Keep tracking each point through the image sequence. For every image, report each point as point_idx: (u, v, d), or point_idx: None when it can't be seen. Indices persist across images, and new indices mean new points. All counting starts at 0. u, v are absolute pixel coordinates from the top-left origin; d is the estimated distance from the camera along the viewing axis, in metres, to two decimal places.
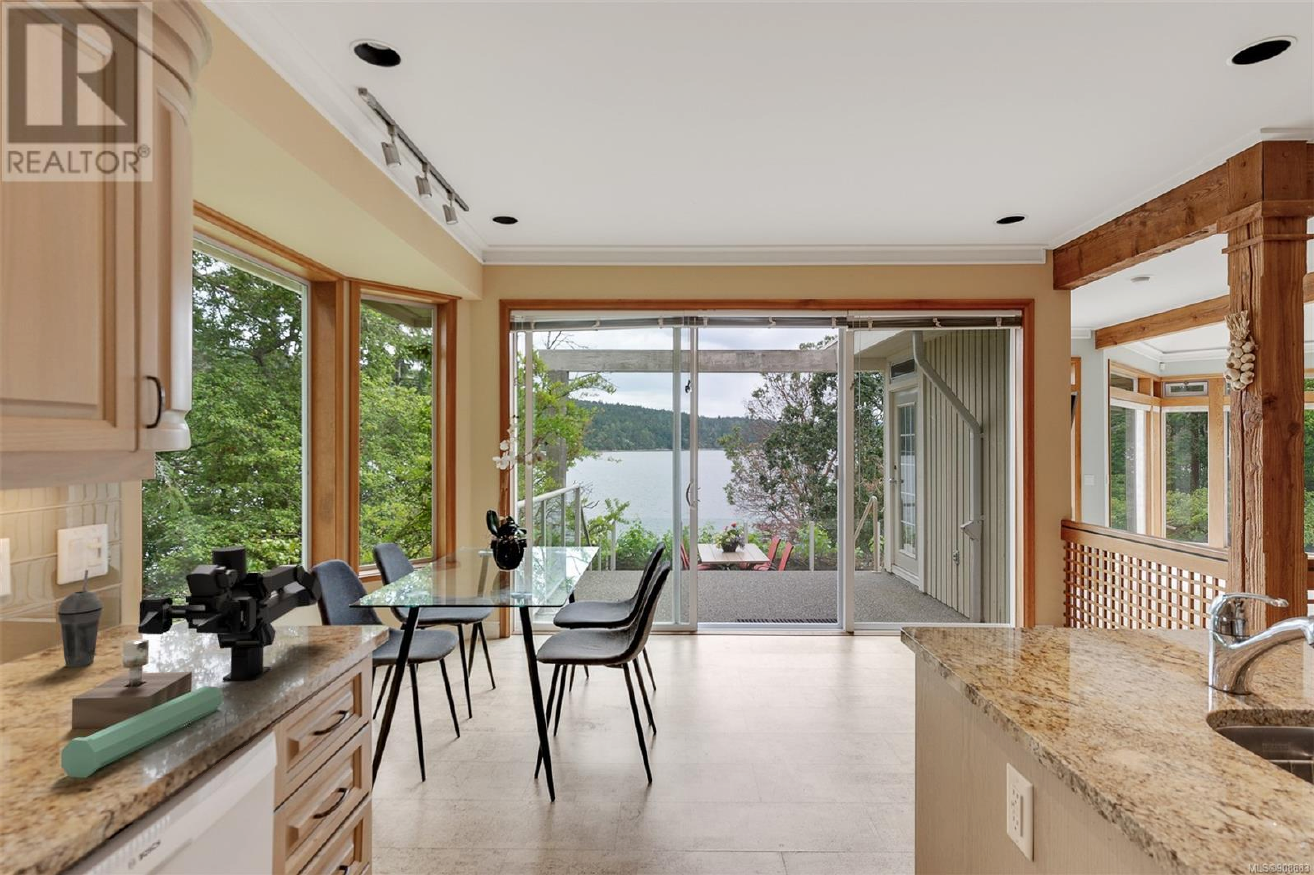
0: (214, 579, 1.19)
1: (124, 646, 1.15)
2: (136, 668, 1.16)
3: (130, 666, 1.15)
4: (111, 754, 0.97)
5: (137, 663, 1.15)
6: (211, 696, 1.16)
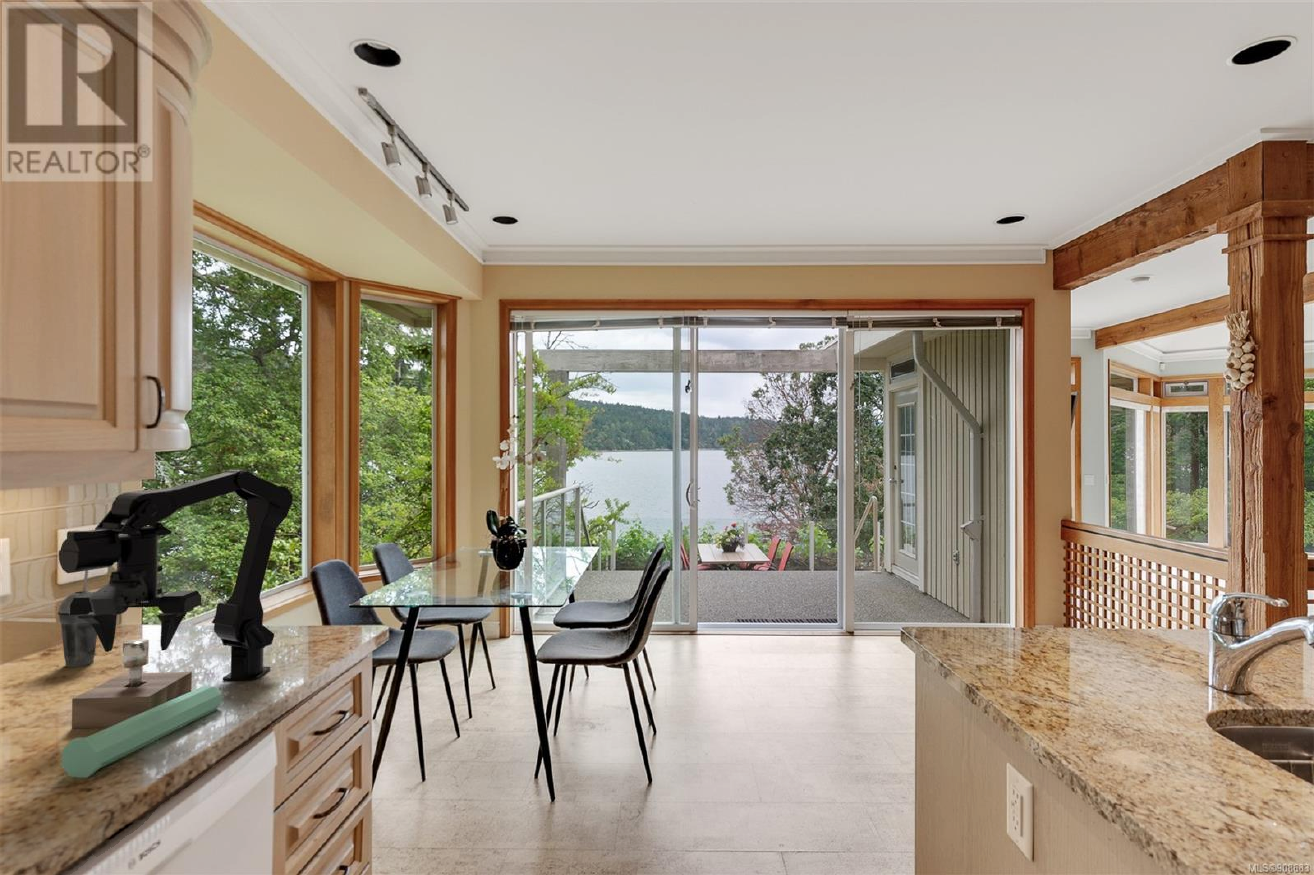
0: (126, 609, 1.10)
1: (124, 646, 1.15)
2: (136, 668, 1.16)
3: (130, 666, 1.15)
4: (112, 754, 0.97)
5: (137, 663, 1.15)
6: (210, 696, 1.16)
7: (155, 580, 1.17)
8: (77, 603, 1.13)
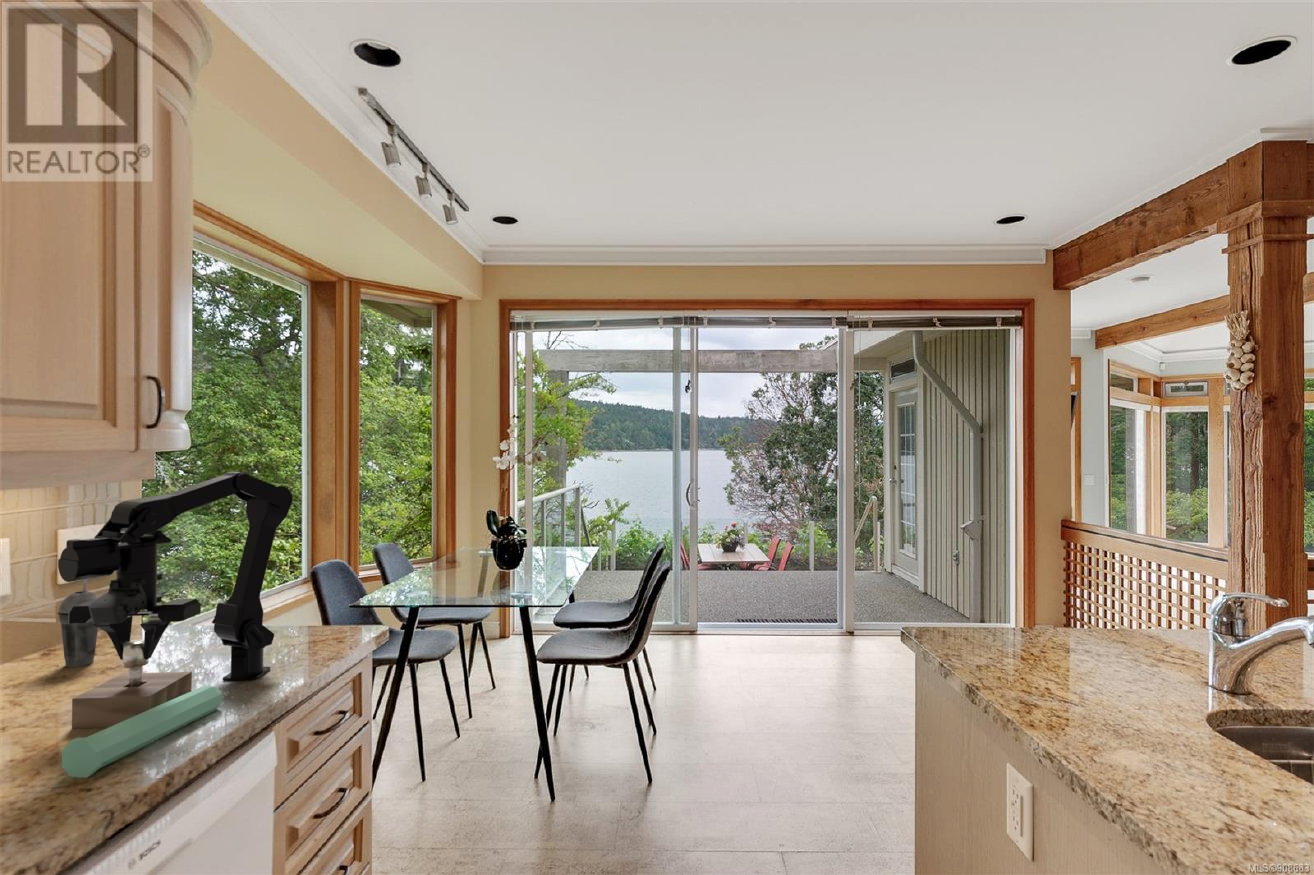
0: (125, 618, 1.10)
1: (124, 646, 1.15)
2: (136, 669, 1.16)
3: (130, 666, 1.15)
4: (112, 754, 0.97)
5: (137, 663, 1.15)
6: (210, 696, 1.16)
7: (154, 588, 1.17)
8: (76, 612, 1.13)
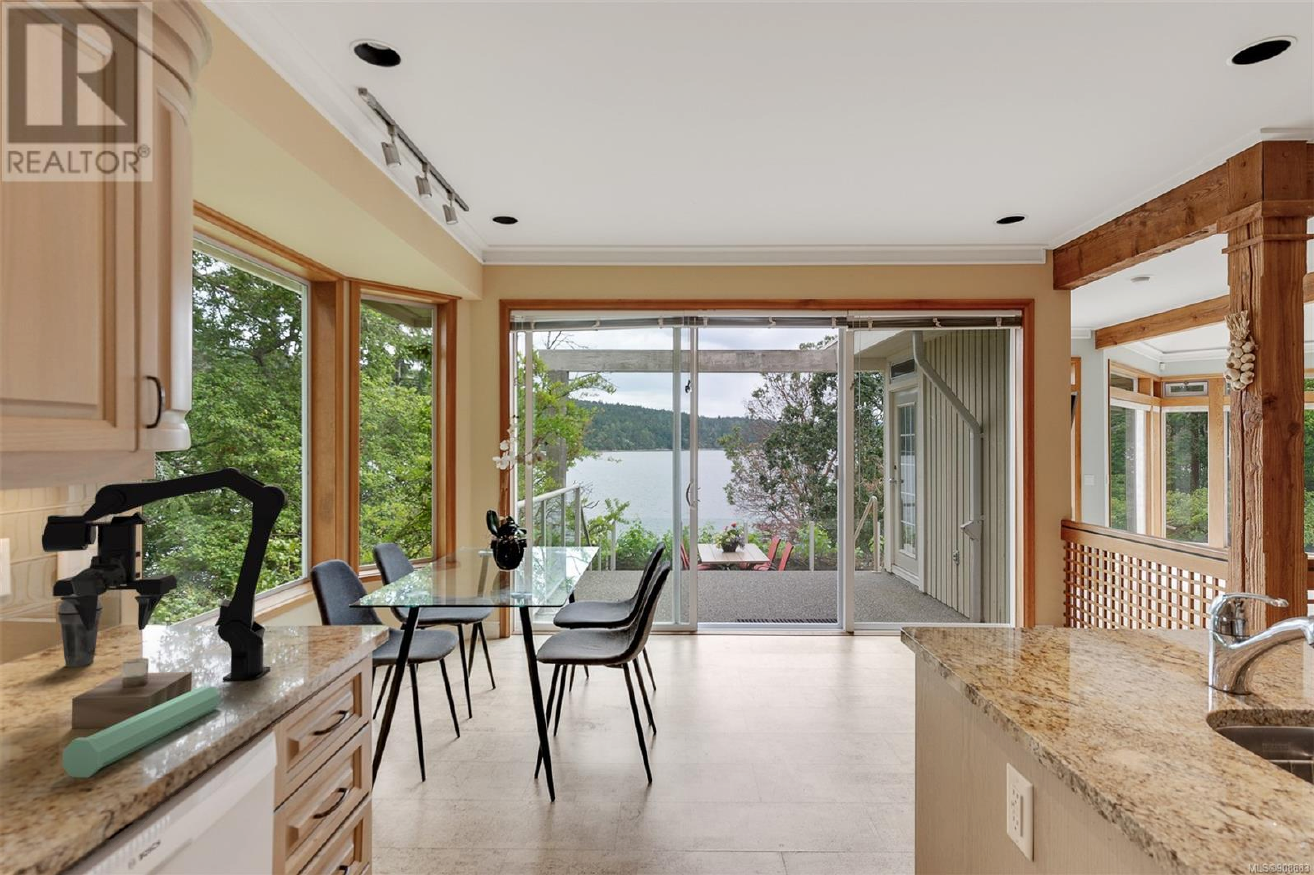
0: (105, 590, 1.19)
1: (124, 666, 1.15)
2: None
3: (130, 686, 1.15)
4: (113, 754, 0.97)
5: (137, 682, 1.15)
6: (209, 696, 1.16)
7: (133, 565, 1.26)
8: (60, 585, 1.22)
